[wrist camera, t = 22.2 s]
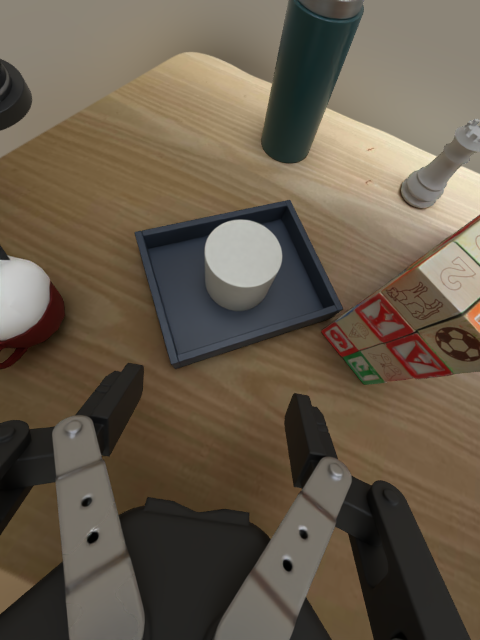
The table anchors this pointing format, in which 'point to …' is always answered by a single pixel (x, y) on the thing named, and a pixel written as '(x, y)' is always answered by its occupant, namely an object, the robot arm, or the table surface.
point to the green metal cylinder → (307, 73)
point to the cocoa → (26, 306)
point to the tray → (212, 319)
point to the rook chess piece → (442, 167)
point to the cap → (241, 264)
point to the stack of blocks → (418, 317)
